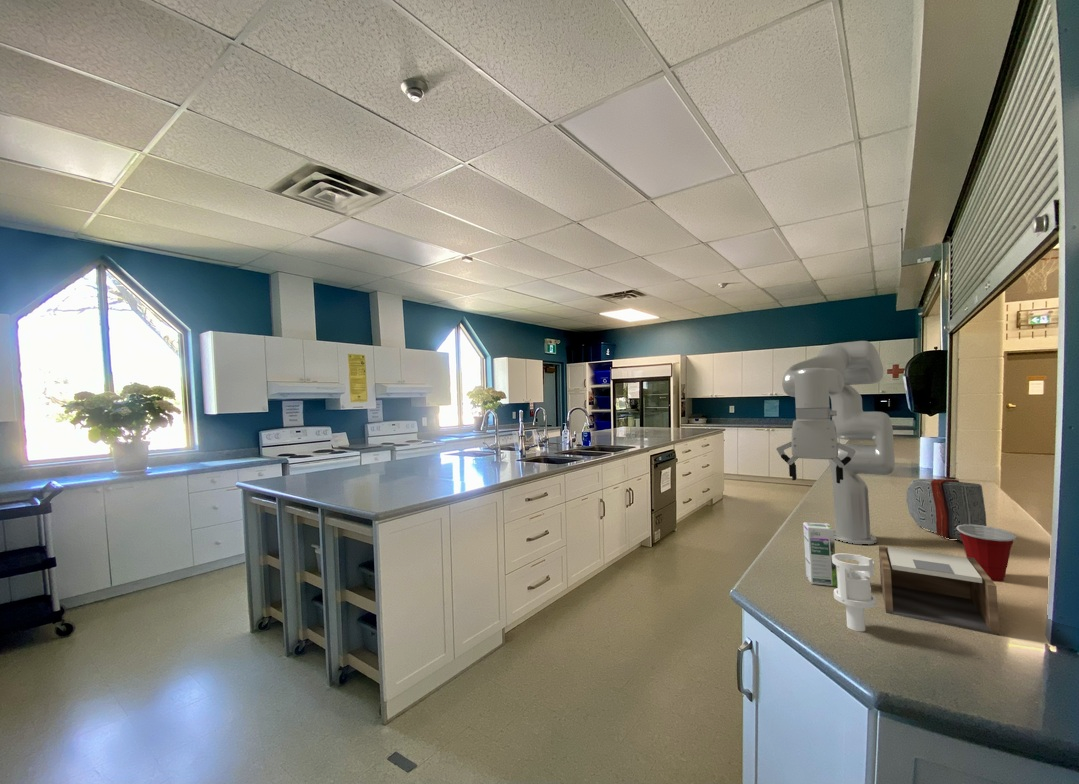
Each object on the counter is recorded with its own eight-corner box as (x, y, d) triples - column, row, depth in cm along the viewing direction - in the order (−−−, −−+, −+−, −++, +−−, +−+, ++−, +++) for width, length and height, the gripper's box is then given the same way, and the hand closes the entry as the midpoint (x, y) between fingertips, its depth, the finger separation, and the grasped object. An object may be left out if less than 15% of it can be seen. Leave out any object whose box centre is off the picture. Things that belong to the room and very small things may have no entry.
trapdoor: (887, 551, 105) (887, 546, 105) (966, 561, 97) (966, 556, 97) (892, 569, 94) (892, 564, 94) (982, 583, 86) (981, 577, 86)
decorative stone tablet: (986, 482, 130) (920, 475, 159) (961, 482, 132) (900, 475, 161) (994, 548, 128) (926, 529, 157) (969, 547, 129) (906, 528, 158)
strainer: (864, 640, 83) (860, 561, 83) (827, 623, 89) (823, 551, 90) (885, 631, 86) (881, 555, 86) (848, 616, 92) (844, 545, 93)
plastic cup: (974, 583, 107) (970, 534, 107) (950, 567, 117) (947, 523, 117) (1032, 588, 103) (1028, 538, 103) (1002, 571, 113) (998, 525, 113)
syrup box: (810, 584, 108) (807, 526, 109) (805, 575, 114) (802, 520, 114) (837, 587, 106) (834, 528, 107) (830, 578, 112) (827, 522, 112)
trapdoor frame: (880, 583, 108) (878, 545, 108) (976, 600, 98) (974, 558, 98) (886, 612, 93) (883, 568, 93) (999, 635, 83) (996, 586, 83)
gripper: (853, 414, 110) (857, 481, 109) (777, 415, 120) (779, 476, 119) (853, 415, 103) (857, 486, 103) (773, 415, 114) (776, 480, 113)
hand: (815, 481), depth 111 cm, fingers open, 9 cm apart
